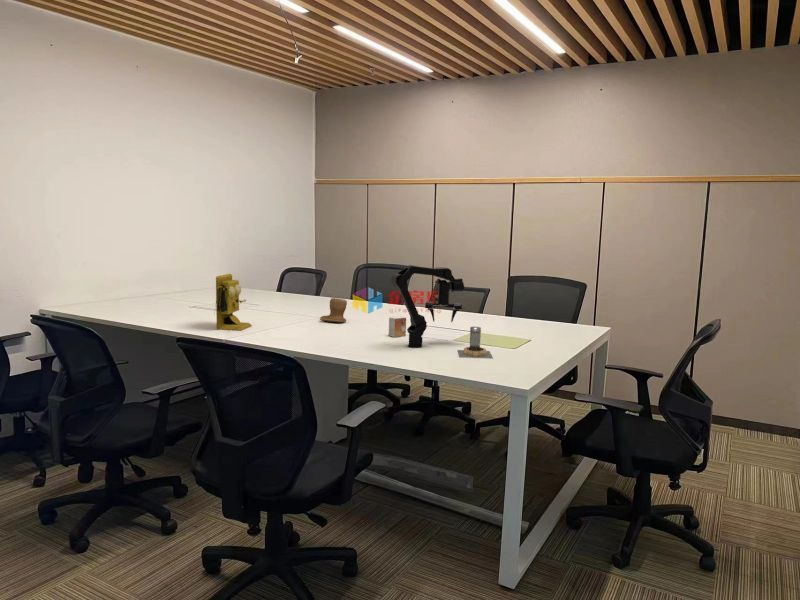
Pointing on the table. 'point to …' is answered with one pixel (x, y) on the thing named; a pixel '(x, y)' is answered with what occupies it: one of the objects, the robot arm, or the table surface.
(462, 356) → the mat
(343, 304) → the brown suede boot shape
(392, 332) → the small box
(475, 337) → the grey tall cylinder
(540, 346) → the table surface
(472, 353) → the ring collar
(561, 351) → the table surface
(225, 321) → the vintage telephone
